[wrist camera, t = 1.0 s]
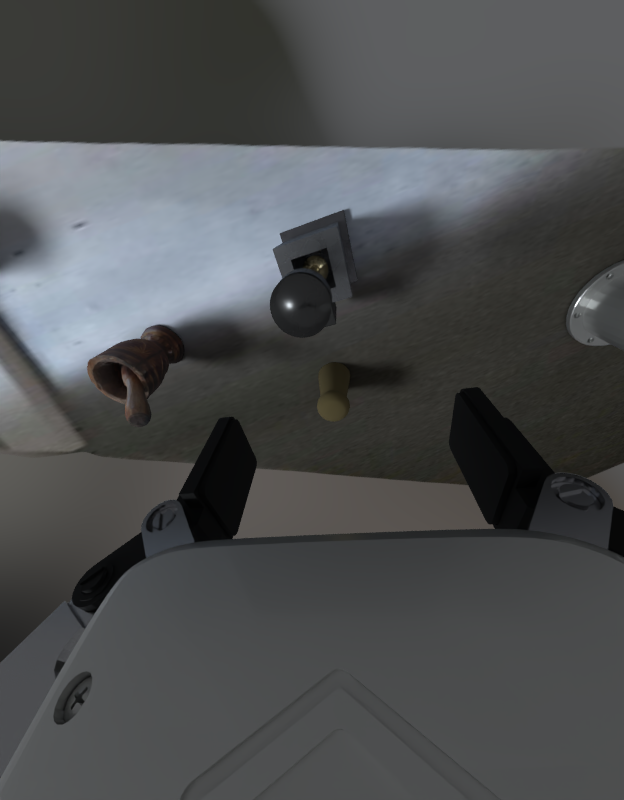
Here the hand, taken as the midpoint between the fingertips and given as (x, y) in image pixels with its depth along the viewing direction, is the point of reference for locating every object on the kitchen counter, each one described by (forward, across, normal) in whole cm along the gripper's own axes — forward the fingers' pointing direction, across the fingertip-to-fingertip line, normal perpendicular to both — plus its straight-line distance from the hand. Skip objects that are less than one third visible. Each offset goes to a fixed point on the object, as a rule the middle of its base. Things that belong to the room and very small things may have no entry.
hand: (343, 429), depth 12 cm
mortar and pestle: (+36, +31, +7) cm, 48 cm away
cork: (+35, +3, +18) cm, 39 cm away
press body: (+35, +2, -1) cm, 35 cm away
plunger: (+25, +2, -2) cm, 25 cm away
